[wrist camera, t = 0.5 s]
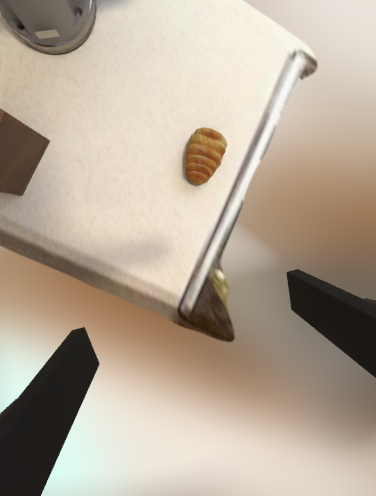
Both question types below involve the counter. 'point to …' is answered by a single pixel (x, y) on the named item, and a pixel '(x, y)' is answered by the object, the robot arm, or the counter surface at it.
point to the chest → (18, 154)
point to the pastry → (204, 155)
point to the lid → (1, 114)
